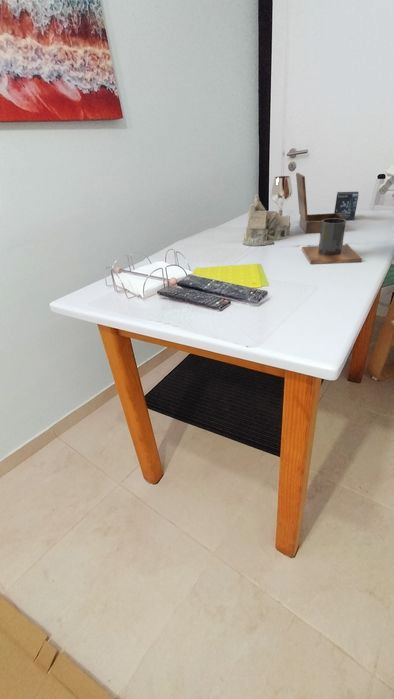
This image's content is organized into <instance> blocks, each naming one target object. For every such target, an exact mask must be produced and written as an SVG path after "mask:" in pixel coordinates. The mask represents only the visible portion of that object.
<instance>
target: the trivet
mask: <svg viewBox="0 0 394 699" xmlns="http://www.w3.org/2000/svg"><path fill="white" fill-rule="evenodd" d="M318 248H319V245H316V246H315V245H314V246H301V252H302V253H303V254H304V256H305V257H306V259H307V261H308V262H309V264H310V265H323V264H325V265H326V264H345V263H347V264H348V263H349V264H350V263H362V262H363V258H362V257H361V256H360V255H359V254H358V253H357V252H355V250H353V248H352V247H350V246H349V244H343V246H342V251H341V254H338V255H322V254H320V253H318Z"/></svg>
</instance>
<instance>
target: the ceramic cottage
mask: <svg viewBox="0 0 394 699" xmlns="http://www.w3.org/2000/svg"><path fill="white" fill-rule="evenodd" d="M253 200H254V203H251V204H250V205H249V210H248V214H247V216H248V217H247V226H246V227H245V228H246V229H245V232H244V233H243V240H242V244H243V245H245V246H249V247H250V246H251V247H256V246H257V247H260V246H268V245H272V244H273V245H274V244H275V241H280V240H286V239H289V238H290V230H291V225H292V224H291V216H290V215H283V209H282V208H281V209H278V212H277V211H276V210H266V208H265V206H264V205H263V204H262V202H261V201H260V196H259V194H255V195H254V199H253Z"/></svg>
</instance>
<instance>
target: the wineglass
mask: <svg viewBox="0 0 394 699" xmlns="http://www.w3.org/2000/svg"><path fill="white" fill-rule="evenodd" d="M292 195H293V184H292V180H291V176H289V175H281V176H275V177H273V181H272V185H271V189H270V198H271V200H272V201H273V203H275V205H277V206H278V208H279V209H282V208H283V206H284V205H285V204H287V202H289V201H290V199H291V198H292ZM279 209H278V210H279Z"/></svg>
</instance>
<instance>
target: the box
mask: <svg viewBox="0 0 394 699" xmlns="http://www.w3.org/2000/svg"><path fill="white" fill-rule="evenodd" d="M359 194H360V193H359V191H337V192H336V197H335V206H334V212H333V213H337V214H339V215H340V216H342V217H343V218H344V219H346V221H355V217H356V212H357V207H358V206H357V205H358V202H359V196H360V195H359Z"/></svg>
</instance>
